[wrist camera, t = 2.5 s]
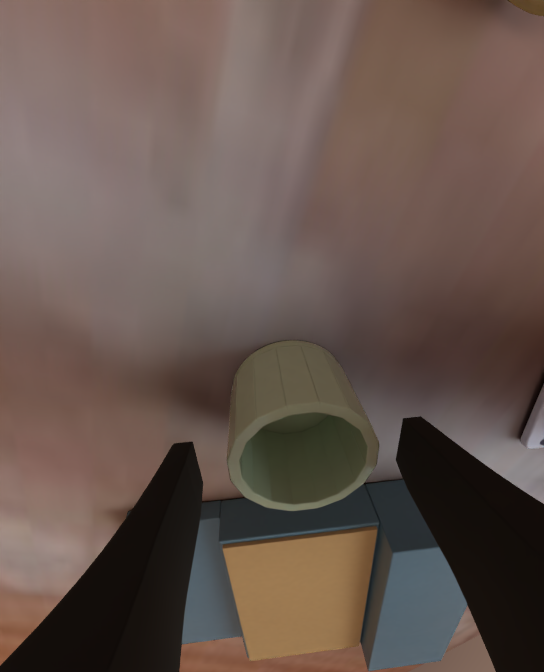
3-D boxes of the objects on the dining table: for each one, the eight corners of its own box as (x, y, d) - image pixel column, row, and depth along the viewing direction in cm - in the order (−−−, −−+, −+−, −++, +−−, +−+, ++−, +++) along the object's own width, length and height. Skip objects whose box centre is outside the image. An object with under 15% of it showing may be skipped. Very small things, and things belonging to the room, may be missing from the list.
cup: (346, 334, 13) (386, 395, 9) (341, 425, 15) (372, 502, 11) (225, 345, 12) (217, 412, 9) (239, 436, 15) (237, 518, 11)
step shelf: (452, 473, 17) (499, 540, 14) (414, 596, 24) (441, 661, 21) (128, 510, 17) (100, 590, 13) (180, 627, 23) (170, 699, 20)
